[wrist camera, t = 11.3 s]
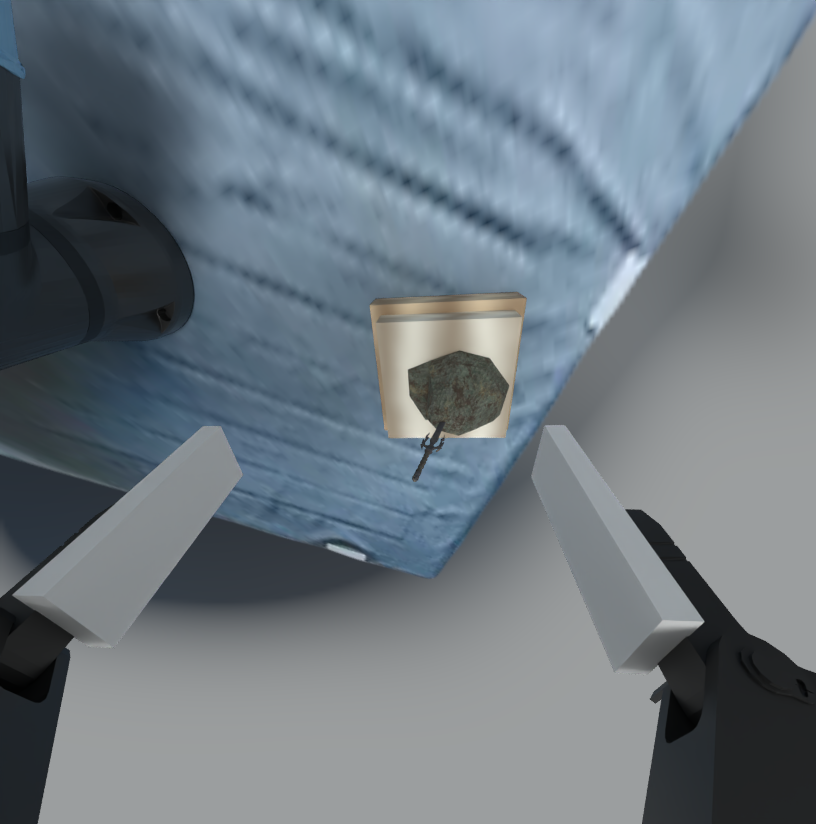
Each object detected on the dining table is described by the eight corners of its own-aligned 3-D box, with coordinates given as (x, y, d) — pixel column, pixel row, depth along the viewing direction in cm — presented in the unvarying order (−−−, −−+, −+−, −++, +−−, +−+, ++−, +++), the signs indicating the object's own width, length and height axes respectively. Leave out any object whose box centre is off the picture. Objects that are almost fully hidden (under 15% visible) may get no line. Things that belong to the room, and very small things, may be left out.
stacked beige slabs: (388, 415, 39) (381, 445, 34) (375, 298, 32) (363, 312, 26) (501, 414, 38) (513, 444, 32) (517, 291, 30) (536, 304, 25)
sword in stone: (511, 345, 27) (559, 421, 17) (506, 416, 31) (542, 510, 21) (403, 355, 28) (388, 431, 18) (413, 421, 32) (404, 513, 22)
